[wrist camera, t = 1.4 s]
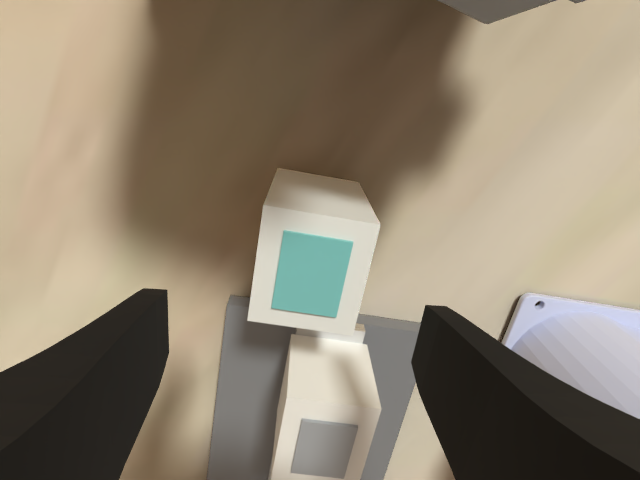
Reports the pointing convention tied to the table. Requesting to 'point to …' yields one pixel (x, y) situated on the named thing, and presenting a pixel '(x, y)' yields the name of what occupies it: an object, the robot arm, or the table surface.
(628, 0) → the table surface
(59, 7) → the table surface
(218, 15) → the table surface
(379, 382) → the board
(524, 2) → the circuit breaker
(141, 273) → the table surface
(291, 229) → the block
